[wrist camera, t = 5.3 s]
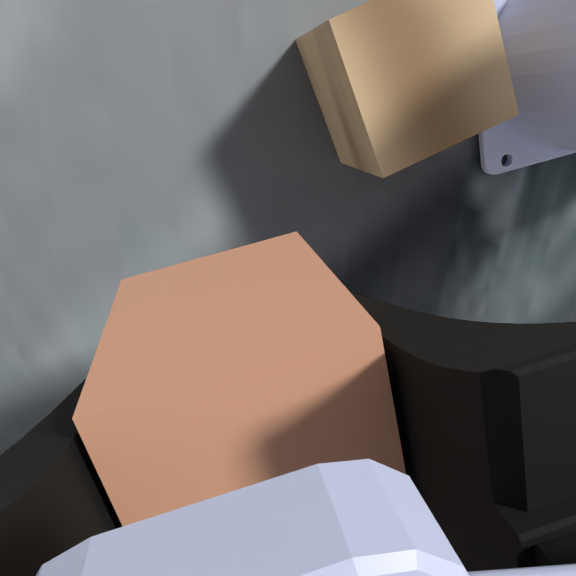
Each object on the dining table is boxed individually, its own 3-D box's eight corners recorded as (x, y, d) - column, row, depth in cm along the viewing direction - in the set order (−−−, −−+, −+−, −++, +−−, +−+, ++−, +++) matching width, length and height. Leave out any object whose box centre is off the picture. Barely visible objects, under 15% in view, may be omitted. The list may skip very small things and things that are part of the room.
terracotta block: (296, 231, 13) (379, 326, 7) (330, 379, 15) (419, 546, 9) (121, 279, 13) (71, 418, 7) (176, 426, 14) (172, 632, 9)
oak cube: (412, -14, 20) (482, -51, 15) (447, 112, 22) (518, 114, 17) (294, 40, 19) (328, 19, 15) (340, 162, 21) (383, 178, 17)
